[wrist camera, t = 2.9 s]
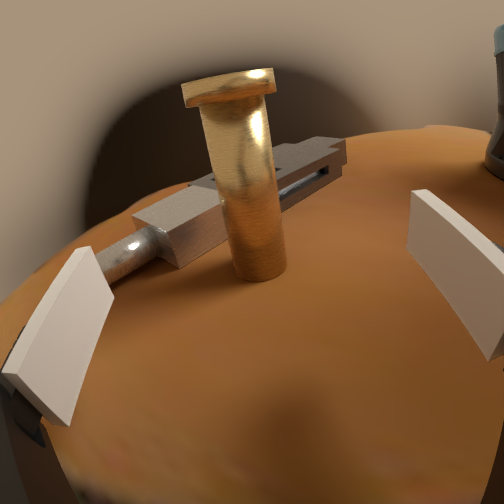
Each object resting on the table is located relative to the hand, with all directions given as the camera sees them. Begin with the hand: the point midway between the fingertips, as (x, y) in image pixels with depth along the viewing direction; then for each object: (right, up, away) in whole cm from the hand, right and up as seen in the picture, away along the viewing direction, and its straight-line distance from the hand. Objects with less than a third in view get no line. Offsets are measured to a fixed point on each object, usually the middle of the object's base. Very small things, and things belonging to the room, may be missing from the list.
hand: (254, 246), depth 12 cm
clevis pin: (+1, -1, +12) cm, 12 cm away
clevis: (0, +5, +22) cm, 23 cm away
